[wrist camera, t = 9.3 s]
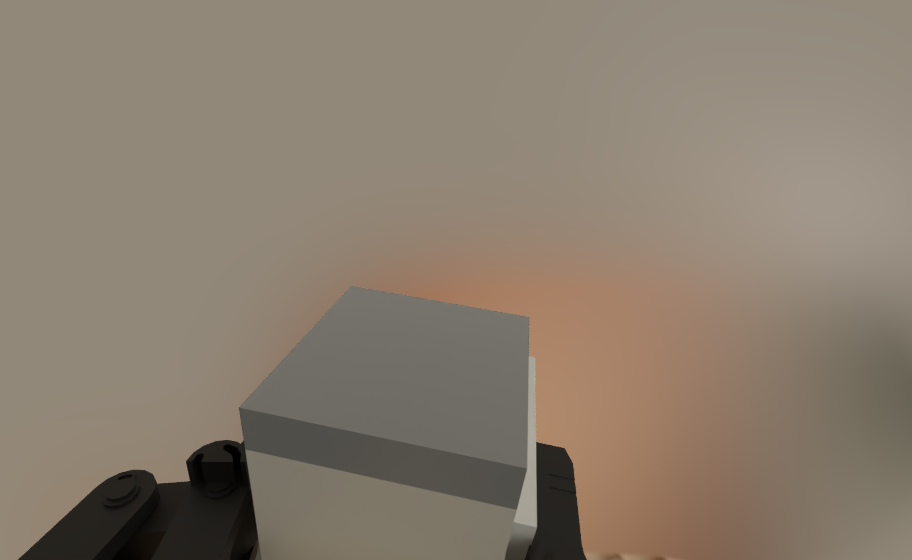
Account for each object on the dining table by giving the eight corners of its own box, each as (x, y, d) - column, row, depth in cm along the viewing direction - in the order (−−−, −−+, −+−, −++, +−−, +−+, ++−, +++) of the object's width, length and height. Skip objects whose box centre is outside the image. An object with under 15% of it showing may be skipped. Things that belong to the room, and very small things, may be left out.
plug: (467, 610, 17) (529, 317, 11) (444, 795, 13) (527, 468, 7) (350, 582, 18) (350, 286, 12) (289, 748, 13) (238, 407, 7)
